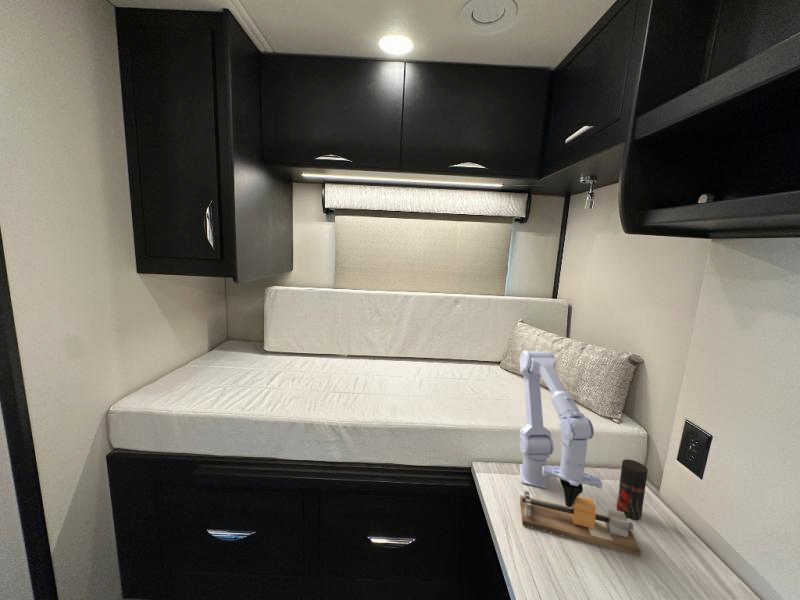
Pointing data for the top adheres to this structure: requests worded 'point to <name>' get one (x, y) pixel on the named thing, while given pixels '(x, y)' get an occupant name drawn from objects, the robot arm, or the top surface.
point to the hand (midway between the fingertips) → (568, 504)
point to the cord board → (559, 521)
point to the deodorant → (632, 489)
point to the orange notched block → (584, 512)
